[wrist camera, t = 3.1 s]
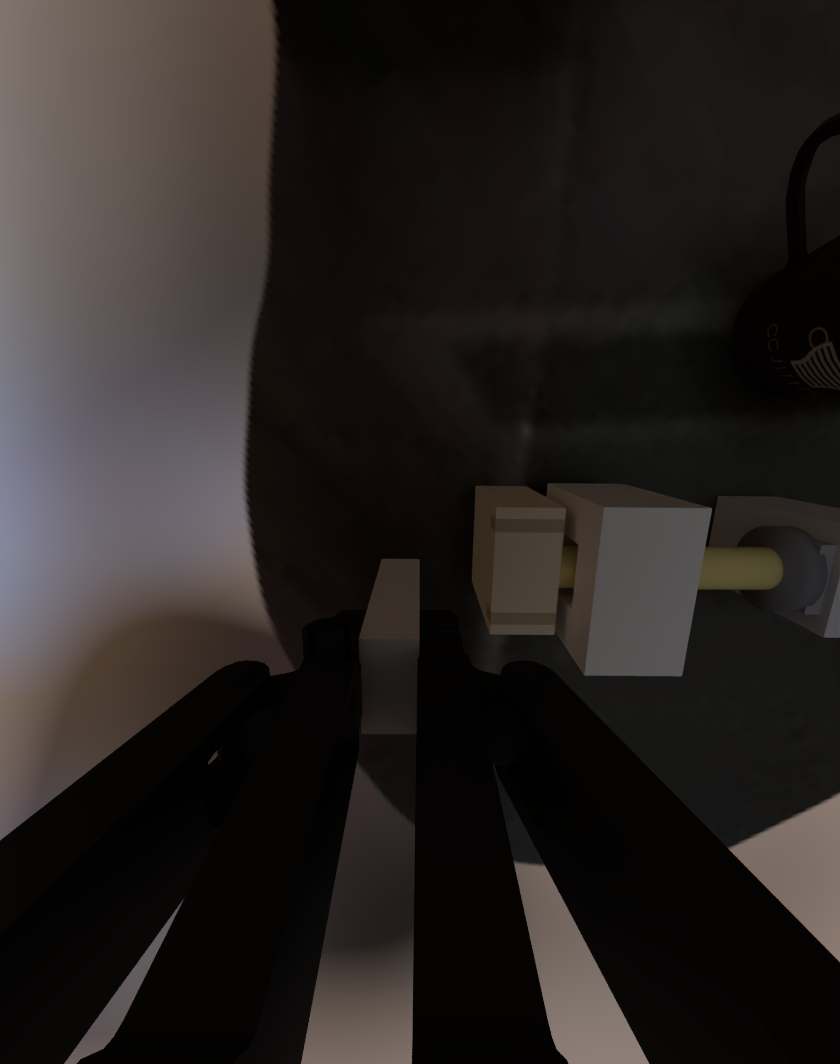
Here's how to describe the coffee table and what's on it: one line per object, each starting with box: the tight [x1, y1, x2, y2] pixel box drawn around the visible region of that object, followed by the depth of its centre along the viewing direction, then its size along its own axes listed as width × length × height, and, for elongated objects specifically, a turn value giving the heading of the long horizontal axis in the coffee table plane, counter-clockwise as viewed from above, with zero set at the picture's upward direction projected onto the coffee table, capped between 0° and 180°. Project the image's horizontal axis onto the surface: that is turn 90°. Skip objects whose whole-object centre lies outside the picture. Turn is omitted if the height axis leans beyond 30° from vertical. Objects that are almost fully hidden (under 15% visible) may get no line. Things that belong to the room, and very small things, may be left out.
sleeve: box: [547, 483, 712, 676], centre depth 20 cm, size 4×7×7 cm, turn 0°
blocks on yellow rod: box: [472, 486, 840, 638], centre depth 22 cm, size 18×6×8 cm, turn 90°
